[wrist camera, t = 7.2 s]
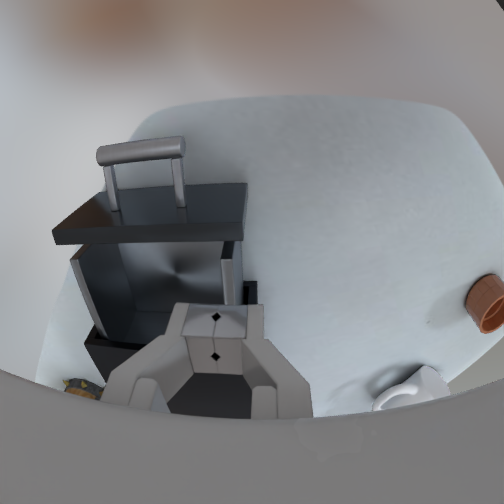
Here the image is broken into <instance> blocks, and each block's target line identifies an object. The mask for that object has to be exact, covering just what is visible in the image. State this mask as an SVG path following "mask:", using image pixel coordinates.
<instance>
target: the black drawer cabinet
mask: <svg viewBox="0 0 504 504" xmlns="http://www.w3.org/2000/svg"><path fill="white" fill-rule="evenodd" d="M243 291H244V305H257V304H258V295H257V281H243ZM84 345H85V347H86V349H87V351H88V353H89V354H90V356H91V358H92V360H93V362H94V363H95V365H96V367H97V369H98V370H99V372H100V374H101V375H102V377H103V379H104V380H105V382H106V383H107V381H108V378H109V376H110V374H111V371H113V370H114V369H115V368H117V367H118V366H119V365H121V364H122V363H123V362H125V361H126V360H127V359H129V358H130V357H131V356H133V355H134V354H135V353H137V352H138V351H139V350H141V349H142V348H143V347H145V346H146V345H147V344H139V343H129V342H119V341H110V340H102V339H101V337H100V334H99V332H98V330H97V328H96V326H95V324H94V326H93V328H92V329H91V331H90V333H89V335H88V337H87V339H86V340H85V342H84ZM193 373H194V374H193V375H192V376H191V377H190V378H189V380H188V381H187V382H186V383H185V384H184V385H183V386H182V387H181V388H180V389H179V391H178V392H177V393H176V394H175V395H174V396H173V397H172V398H171V399H170V400H169V401H168V402H167V406H168V408H169V410H170V412H171V413H173V414H181V415H191V416H202V417H215V418H234V419H251V406H252V389H251V388H250V386H249V385H248V383H247V382H246V380H245V378H244V377H243V375H236V374H220V373H195V372H193Z"/></svg>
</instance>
